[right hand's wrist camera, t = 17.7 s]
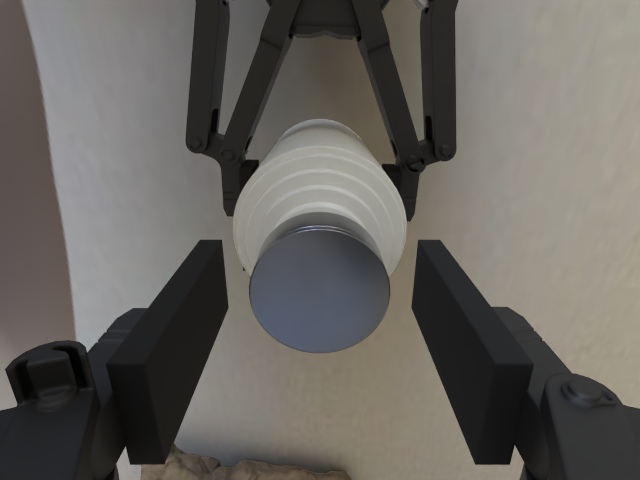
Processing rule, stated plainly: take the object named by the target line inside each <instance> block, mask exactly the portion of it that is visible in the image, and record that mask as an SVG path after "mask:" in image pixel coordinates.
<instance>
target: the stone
mask: <svg viewBox="0 0 640 480" xmlns="http://www.w3.org/2000/svg"><path fill="white" fill-rule="evenodd" d="M141 480H352V479H351V478H350V477H349V475H348V474H347V473H346V471H333V470H331V471H329V472H326V473H315V472H313V471H311V470H306V469H304V468H302V467H300V466H296V465H293V466H289V465H283V466H279V465H273V464H269V463H267V462H259V461H253V460H249V459H244V460H241V461H239V462H238V463H237V464H236V465H234V466H232V467H226V466H221V467H220V462H219V461H218V460H216V459H214V458H212V457H207V456H204V457H200V456H198V455H194V454H189V455H188V454H186V453H183V452H182V451H181V450H179V449H178V448H177V447H176V445H175V444H174V443H173V445H172V448H171V450H170V453H169V455H168V458H167V460H166V462H165V465H142V467H141Z"/></svg>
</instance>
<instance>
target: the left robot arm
mask: <svg viewBox="0 0 640 480" xmlns="http://www.w3.org/2000/svg"><path fill="white" fill-rule="evenodd" d="M233 1H234V0H196V11H195V24H194V37H193V50H192V63H191V76H190V89H189V103H188V116H187V129H186V146H187V148H188V149H189V150H190V151H191V152H193V153H202V154H204V155H207V156H209V157H212V158H214V159H215V160H216V161H217V162H218V163H219V164H220V167H221V173H222V189H223V206H224V210H225V212H226V214H227V216H234V211H235V207H236V203H237V201H238V198H239V196H240V194H241V192H242V190H243V188H244V186H245V185H246V183H247V182H248V180H249V179H250V178H251V176H252V175H253V174H254V172H255V171H256V170H257V168H258V167H259V160H246V154H247V152H248V151H247V150H248V147H249V145H250V142H251V140H252V137H253V135H254V132H255V130H256V127H257V125H258V122H259V120H260V117H261V115H262V112H263V110H264V107H265V105H266V102H267V100H268V97H269V95H270V92H271V89H272V87H273V84H274V82H275V79H276V77H277V74H278V72H279V69H280V67H281V64H282V62H283V59H284V57H285V55H286V53H287V51H288V49H289V46H290V44H291V42H292V39H293V36H294V35H296V36H297V38H313V37H317V36H321V35H328V36H331V37H334V38H337V39H351V40H352V39H353V38H354V37H355V38H356V41H357V44H358V47H359V50H360V53H361V55H362V57H363V59H364V62H365V65H366V69H367V72H368V75H369V78H370V81H371V84H372V87H373V90H374V93H375V96H376V99H377V103H378V106H379V109H380V112H381V115H382V118H383V121H384V124H385V127H386V130H387V133H388V137H389V140H390V143H391V146H392V149H393V152H394V155H395V158H396V164H395V165H394V164H382V169H383V170H384V171H385V173H386V174H387V176H388V177H389V178H390V180H391V181H392V183H393V184H394V186H395V187H396V189H397V191H398V193H399V195H400V197H401V199H402V202H403V205H404V209H405V213H406V220H407V221H411V219H412V217H413V216H414V213H415V204H416V197H417V189H418V181H419V175H420V173H421V172H423V170H424V169H425V167H426V166H427V165H429V164H432V163H435V162H438V161H448V160H450V159H452V158H453V157H454V155H455V153H456V75H455V10H456V7H457V3H458V0H413V2H414V4H415V6H416V7H417V8H418V9H421V10H422V13H421V21H420V42H421V68H422V93H423V118H424V140H421V141H418V139H417V136H416V132H415V129H414V126H413V122H412V119H411V116H410V112H409V109H408V106H407V102H406V99H405V96H404V92H403V89H402V85H401V82H400V79H399V75H398V72H397V69H396V65H395V62H394V59H393V55H392V52H391V48H390V41H389V36H388V32H387V29H386V25H385V22H384V19H383V15H382V12H381V11H382V10H383V9H384V7H385V6H386V5H387V3H388V2H389V0H266V2H267V3H268V5H269V6H270V11H269V13H268V16H267V19H266V21H265V24H264V27H263V30H262V33H261V37H260V42H259V45H258V48H257V50H256V53H255V56H254V58H253V61H252V64H251V66H250V69H249V72H248V75H247V77H246V80H245V83H244V85H243V88H242V91H241V93H240V96H239V99H238V101H237V104H236V107H235V109H234V112H233V115H232V118H231V120H230V123H229V126H228V128H227V131H226V134H225V135H222V134H220V133H218V128H219V118H220V109H221V99H222V90H223V80H224V71H225V61H226V52H227V42H228V33H229V21H230V12H229V3H230V2H233ZM243 271H246V270H245V269H244V267H243Z"/></svg>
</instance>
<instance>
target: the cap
mask: <svg viewBox="0 0 640 480" xmlns="http://www.w3.org/2000/svg"><path fill="white" fill-rule="evenodd" d="M249 296H250V303H251V306H252V310H253V312H254V314H255V316H256V318H257V320H258V322H259V323H260V325H261V326H262V327H263V328H264V329H265V331H266V332H267V333H269V334H270V335H271V336H272V337H273V338H275V339H276V340H277V341H279V342H280V343H282V344H284V345H286V346H288V347H291V348H293V349H296V350H300V351H304V352H310V353H329V352H335V351H339V350H343V349H346V348H349V347H351V346H353V345H355V344H357V343H359V342H361V341H362V340H363V339H365V338H366V337H368V336H369V335H370V334H371V333H372V332H373V331H374V330H375V329H376V328H377V326H378V325H379V324H380V322H381V321H382V319H383V317H384V315H385V313H386V311H387V307H388V304H389V299H390V283H389V277H388V274H387V271H386V268H385V265H384V262H383V259H382V257H381V254H380V251H379V249H378V246H377V244H376V242H375V241H374V239H373V238H372V236H371V235H370V234H369V233H368V232H367V231H366V230H365V229H364V228H363V227H362V226H361V225H359V224H358V223H356V222H355V221H353V220H351V219H349V218H347V217H345V216H342V215H339V214H335V213H330V212H310V213H304V214H301V215H298V216H294V217H292V218H290V219H288V220H286V221H285V222H283V223H281V224H280V225H279V226H278V227H276V228H275V229H274V230H273V231H272V232H271V233H270V234H269V236H268V237H267V238H266V240H265V241H264V243H263V245H262V247H261V249H260V252H259V255H258V258H257V261H256V263H255V266H254V269H253V272H252V275H251V279H250V285H249Z"/></svg>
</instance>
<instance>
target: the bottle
mask: <svg viewBox="0 0 640 480" xmlns="http://www.w3.org/2000/svg"><path fill="white" fill-rule="evenodd" d="M310 212H330V213H335V214H339V215H342V216H345V217H347V218H349V219H351V220H353V221H355V222H356V223H358V224H359V225H361V226H362V227H363V228H364V229H365V230H366V231H367V232H368V233H369V234H370V235H371V236H372V238H373V239H374V241H375V242H376V244H377V246H378V249H379V251H380V254H381V257H382V259H383V262H384V265H385V268H386V271H387V274H388V277H390V275H391V274H392V273H393V271H394V270H395V268H396V266H397V264H398V263H399V261H400V258H401V256H402V253H403V250H404V246H405V243H406V235H407V220H406V213H405V209H404V205H403V202H402V199H401V197H400V195H399V193H398V191H397V189H396V187H395V186H394V184H393V183H392V181H391V180H390V178H389V177H388V176H387V174H386V173H385V171H384V170H383V169H382V167H381V166H380V164H379V163H378V162H377V160H376V159H375V158H374V156H373V155H372V153H371V152H370V151H369V149H368V148H367V147H366V145H365V144H364V142H363V141H362V140H361V138H360V137H359V136H358V135H357V134H356V133H355V132H354V131H353V130H352V129H350V128H349V127H347V126H346V125H343V124H341V123H339V122H336V121H333V120H328V119H311V120H307V121H303V122H301V123H298V124H296V125H294V126H293V127H291V128H290V129H288V130H287V131H286V132H285V133H284V134H283V135H282V136H281V137H280V138H279V139H278V141H277V142H276V143H275V145H274V146H273V148H272V149H271V150H270V152H269V153H268V154H267V156H266V157H265V159H264V160H263V161H262V163H261V164H260V165H259V167H258V168H257V170H256V171H255V172H254V174H253V175H252V176H251V178H250V179H249V180H248V182H247V183H246V185H245V186H244V188H243V190H242V192H241V194H240V196H239V198H238V201H237V203H236V207H235V211H234V216H233V239H234V244H235V248H236V251H237V254H238V257H239V259H240V261H241V263H242V265H243V267H244V269H245V270H246V272H247V273H248V275H249V276H250V277H251V275H252V272H253V269H254V266H255V263H256V261H257V258H258V255H259V252H260V249H261V247H262V245H263V243H264V241H265V240H266V238H267V237H268V236H269V234H270V233H271V232H272V231H273V230H274V229H275V228H276V227H278V226H279V225H280V224H281V223H283V222H285V221H286V220H288V219H290V218H292V217H294V216H298V215H301V214H304V213H310Z"/></svg>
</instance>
